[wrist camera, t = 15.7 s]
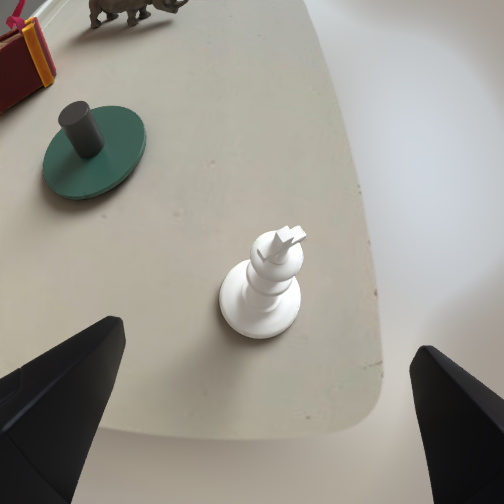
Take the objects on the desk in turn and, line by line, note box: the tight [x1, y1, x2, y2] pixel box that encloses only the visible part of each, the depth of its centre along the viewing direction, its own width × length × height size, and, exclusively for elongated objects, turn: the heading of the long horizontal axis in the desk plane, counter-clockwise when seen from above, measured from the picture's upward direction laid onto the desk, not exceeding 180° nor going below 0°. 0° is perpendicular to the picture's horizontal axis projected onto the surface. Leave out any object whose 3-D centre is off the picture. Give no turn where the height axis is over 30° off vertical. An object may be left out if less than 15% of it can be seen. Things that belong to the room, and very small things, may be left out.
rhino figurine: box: [89, 0, 188, 28], centre depth 27 cm, size 4×14×6 cm, turn 79°
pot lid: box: [43, 101, 146, 200], centre depth 20 cm, size 9×9×5 cm
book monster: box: [0, 0, 56, 115], centre depth 22 cm, size 11×9×12 cm
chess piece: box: [219, 225, 306, 339], centre depth 15 cm, size 5×5×10 cm
